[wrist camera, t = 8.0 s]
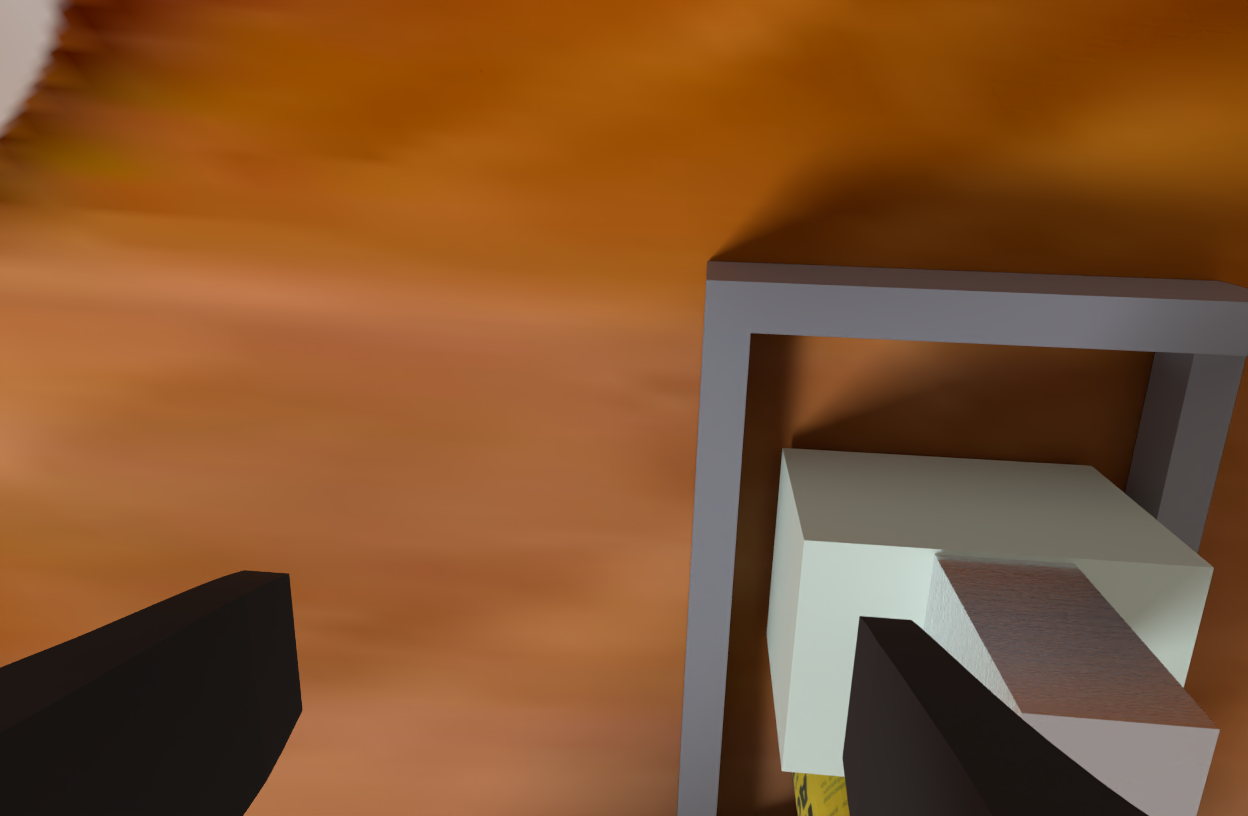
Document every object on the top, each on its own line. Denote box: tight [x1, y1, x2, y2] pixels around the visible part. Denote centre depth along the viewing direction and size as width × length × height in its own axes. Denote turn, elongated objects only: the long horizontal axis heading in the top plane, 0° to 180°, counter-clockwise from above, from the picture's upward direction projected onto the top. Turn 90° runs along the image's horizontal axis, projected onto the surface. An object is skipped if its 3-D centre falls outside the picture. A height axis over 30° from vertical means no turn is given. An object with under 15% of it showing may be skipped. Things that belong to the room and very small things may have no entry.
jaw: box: [767, 448, 1220, 816], centre depth 16 cm, size 7×5×10 cm
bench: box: [677, 261, 1248, 816], centre depth 19 cm, size 11×17×6 cm, turn 179°
